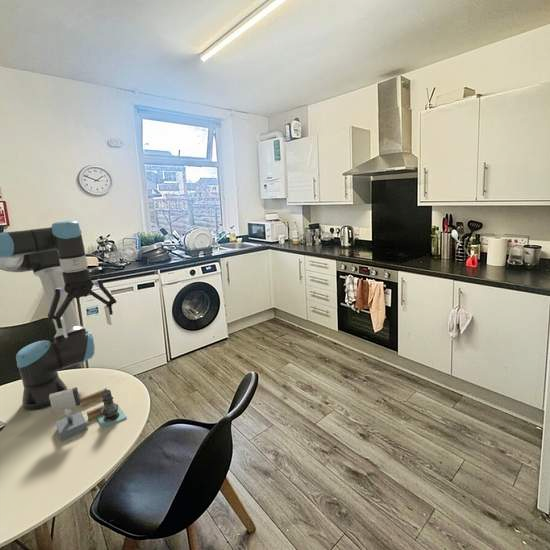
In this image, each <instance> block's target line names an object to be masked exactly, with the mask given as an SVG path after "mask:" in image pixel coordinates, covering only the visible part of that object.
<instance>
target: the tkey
mask: <svg viewBox="0 0 550 550" xmlns="http://www.w3.org/2000/svg"><path fill="white" fill-rule="evenodd" d="M49 399H50V403H51V406H50V407H51V410H52V413H56V412H59V411H63V410H64V414H65V416H66V417H65V418H67V422H72V421H73V416H72V415H73V413H72V408H74V407H79V406H81V401H80V392H79V391H78V387H74V388H70V389H68V388H67V390H64V391H60V392H56V393H52V394H50V395H49Z"/></svg>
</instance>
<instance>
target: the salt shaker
mask: <svg viewBox="0 0 550 550" xmlns="http://www.w3.org/2000/svg"><path fill="white" fill-rule="evenodd" d="M104 389H105V390H104V391H103V392H102V397H103V398H102V399H101V400H102V403H103V405H104V407H103V408H102V409H101V413H102V414H103V415H104V416H105V417H104V421H105V422H111V421H114V420H116V419H117V418H118V417H119V413H118V412H117V411H118V408H119V407H120V406H119V404H118V403H115V402H114V397H113V395H112V392H111V390H110V389H107V388H106V387H105V388H104ZM113 402H114V403H113Z"/></svg>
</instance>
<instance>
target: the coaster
mask: <svg viewBox="0 0 550 550" xmlns="http://www.w3.org/2000/svg"><path fill="white" fill-rule="evenodd" d="M117 412H118V413H119V417H118V418H117V419H116V420H114V421H111V422H105V421H104V417H105V416H104V415H100V416H98V417H96V419H97V421H98V423H99V425H100V426H101V428H102V430H104V429H107V428H110V427H112V426H113V425H116V424H118V423H120V422H122V421H124V420H127V419H128V418H127V417H128V416H127V415H126V414H125V412H124V411H123V409H121V407H120V406H119V407H118V411H117Z"/></svg>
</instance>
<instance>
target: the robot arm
mask: <svg viewBox="0 0 550 550" xmlns="http://www.w3.org/2000/svg"><path fill="white" fill-rule="evenodd" d="M85 250H86V249H85V246H84V241H83V236H82V229H81V228H80V223H79V222H78V221H76V220H65V221H64V220H63V221H57V222H53V223H52V224H51V226H50V227H42V228H34V229H32V228H31V229H26V230H25V229H24V230H18V231H17V230H16V231H15V230H14V231H6V232H5V231H3V232H0V270H1V271H4V272H8V273H9V272H11V273H26V272H33V275H34V276H35V277H38V278H39V279H40V282H41V287H42V289H43V291H44V295H45V298H46V302H47V305H48V308H49V310H48V313H47V317H48V319H49V320H52V321H53V324H54V328H55V331H56V333H55V335H54V336H53V338H54V341H53V342H50V340H47V339H46V340H44V339H43V340H38V341H35V342H32V343H30V344H28V345H26V346H24V347H22V348H21V349H20V350H18V352H17V353H16V356H15V359H16V366H17V368H18V370H19V371H18V372H19V374H20V378H21V381H22V384H23V385H22V386H23V392H22V394H23V395H22V400H21V402H22V407H23V408H24V410H27V411H38V410H42V409H46V408H49V407H51V403H50V399H49V395H50V394H52V393H56V392H60V391H64V390H68V387H67V385H66V384H65V383H64V382H63V380H62V379H61V377H60V376H59V373H58V372H59V371H60V370H64V369H67V368H68V367H72V366H74V365H75V366H76V365H77V364H81V363H84V362H86V361H88V360H90V359H92V358H93V357H94V355H95V349H96V346H95V341H94V336H93V335H92V332H91V331H88V330H86V327H84V326H82V325H81V324H80V321H79V319H78V314H77V312H76V309H75V306H74V303H73V301H74V299H80V298H86V297H88V296H89V295H91V296H92V297H94V298H95V299H97V300H98V301H100V302H101V303H103V304H104V306H103V308H104V313H105V319H106V323H107V324H108V325H109V326H112V325H113V323H112V319H111V316H112V315H113V313H114V312H113V305H114V304H116V303H117V300H116V299H115V297H114V296H113V295H112V293H110V291H108V289H107V288H106V287H105V286H104V284H103V280H102V279H100V278H97V279H96V280H94V281H92V279H91V274H90V270H89V268H88V266H89V265H88V260H87V256H86V251H85ZM94 286H95V287H97V288H99V289H100V290H101V292H102V293H103V294H104V295H105V296H106V297H107V299H109V300H107V299H105V298H104V297H102V296H101V295H99V294H97V293H96V292H94V291H93V290H92V289H93V287H94Z"/></svg>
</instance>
